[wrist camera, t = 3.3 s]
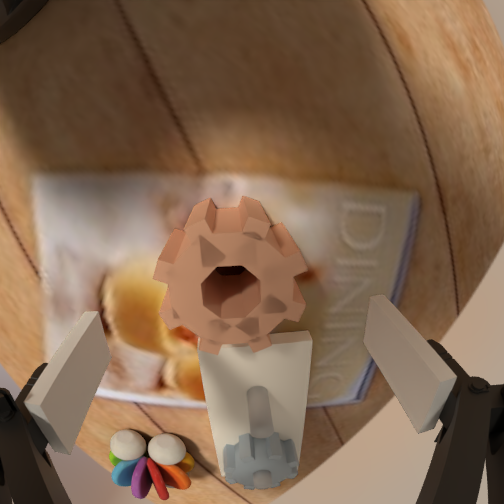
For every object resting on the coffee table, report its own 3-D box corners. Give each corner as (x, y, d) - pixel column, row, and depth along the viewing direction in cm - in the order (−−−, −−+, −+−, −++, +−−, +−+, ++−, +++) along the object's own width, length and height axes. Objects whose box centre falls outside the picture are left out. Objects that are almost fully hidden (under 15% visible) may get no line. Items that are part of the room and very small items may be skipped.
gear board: (221, 466, 32) (222, 507, 27) (198, 338, 25) (192, 388, 20) (295, 460, 33) (304, 499, 27) (308, 330, 26) (327, 377, 20)
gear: (178, 309, 24) (167, 356, 19) (165, 200, 21) (144, 223, 16) (287, 302, 25) (304, 348, 19) (288, 193, 22) (309, 213, 16)
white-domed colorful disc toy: (197, 468, 32) (195, 516, 26) (121, 460, 31) (111, 505, 25) (192, 428, 29) (189, 485, 23) (105, 419, 29) (89, 471, 22)
